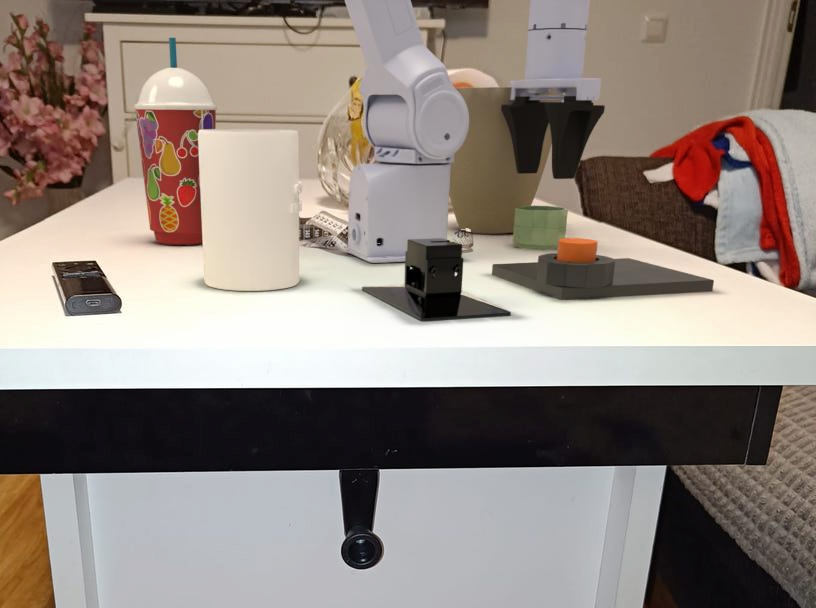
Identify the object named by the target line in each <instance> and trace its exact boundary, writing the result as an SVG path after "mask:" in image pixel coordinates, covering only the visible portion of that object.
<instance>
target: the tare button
mask: <svg viewBox="0 0 816 608" xmlns="http://www.w3.org/2000/svg"><path fill="white" fill-rule="evenodd" d="M598 243H599V241H597V240H595V239H591V238H579V237H567V238H566V237H565V239H560V240H559V241H558V249H557V252H556V253H557V260H561V261H569V262H595V261H596V255H597V251H598Z"/></svg>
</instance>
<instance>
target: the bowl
mask: <svg viewBox="0 0 816 608" xmlns="http://www.w3.org/2000/svg"><path fill="white" fill-rule="evenodd" d="M568 214H569V208H568V207H563V206H553V205H531V206H518V207H516V208H515V219H514V232H513V233H512V243H514V247H515V248H518V249H526V250H528V249H529V250H542V251H543V250H558V241H559V240H560V239H565V238H566V234H567V233H566V232H567V223H568Z"/></svg>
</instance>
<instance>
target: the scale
mask: <svg viewBox="0 0 816 608" xmlns="http://www.w3.org/2000/svg"><path fill="white" fill-rule="evenodd" d="M491 275H492V276H494V277H497V278H499V279H502V280H505V281H508V282H510V283H513V284H516V285H518V286H521V287H524V288H526V289H530V290H532V291H535V292H538V293H540V294H543V295H546V296H549V297H552V298H554V299H556V300H560V301H570V300H571V301H572V300H587V299H589V300H590V299H605V298H623V297H624V298H625V297H640V296H641V297H642V296H657V295H672V294H676V295H677V294H690V293H693V294H694V293H708V292H710V293H711V292H713V290H714V283H715V280H714V279H711V278H707V277H704V276H700V275H696V274H693V273H688V272H684V271H681V270H677V269H673V268H668V267H665V266H661V265H657V264H653V263H649V262H645V261H641V260H637V259H634V258H629V257H622V258H613V257H609V256H607V255H602V254H601V255H600V254H596V261H595V262H569V261H561V260H557V252H553V253H551V252H550V253H545V254H541V255H538V258H537V261H534V262H514V263H513V262H511V263H509V262H508V263H493V264H492V268H491Z"/></svg>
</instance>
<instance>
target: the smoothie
mask: <svg viewBox="0 0 816 608" xmlns="http://www.w3.org/2000/svg"><path fill="white" fill-rule="evenodd" d="M168 44H169V46H168V47H169V64H170V65H169V67H166V68H165V67H164V68H163V69H160V70H158V71H157V72H155V73H153V74H152V75H150V76H149V77H148V78H147V80H146V81H145V82H144V84H143V86H142V87H141V89H140V92H139V95H138V98H137V102H136V103H134V105H133V107H134V108H133V109H134V110H135V119H136V126H137V128H136V129H137V135H138V143H139V151H140V158H141V159H140V160H141V168H142V176H143V183H144V193H145V201H146V206H147V215H148V224H149V230H150V231H152V232H153V233H154V238H155V241H156V242H157V243H159V244H160V245H166V246H194V245H195V246H196V245H203V240H202V217H201V194H200V172H199V149H198V132H199V130H204V129H217V110H218V105H217V104H215V102H214V101H213V98H212V95H211V93H210V91H209V89H208V88H207V85H206V84H205V83H204V82H203V80H201V78H199V77H198V76H197V75H196V74H194V73H193V72H191V71H189V70H187V69H185V68H182V67H178V58H177V57H178V55H177V40H176V37H168Z"/></svg>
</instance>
